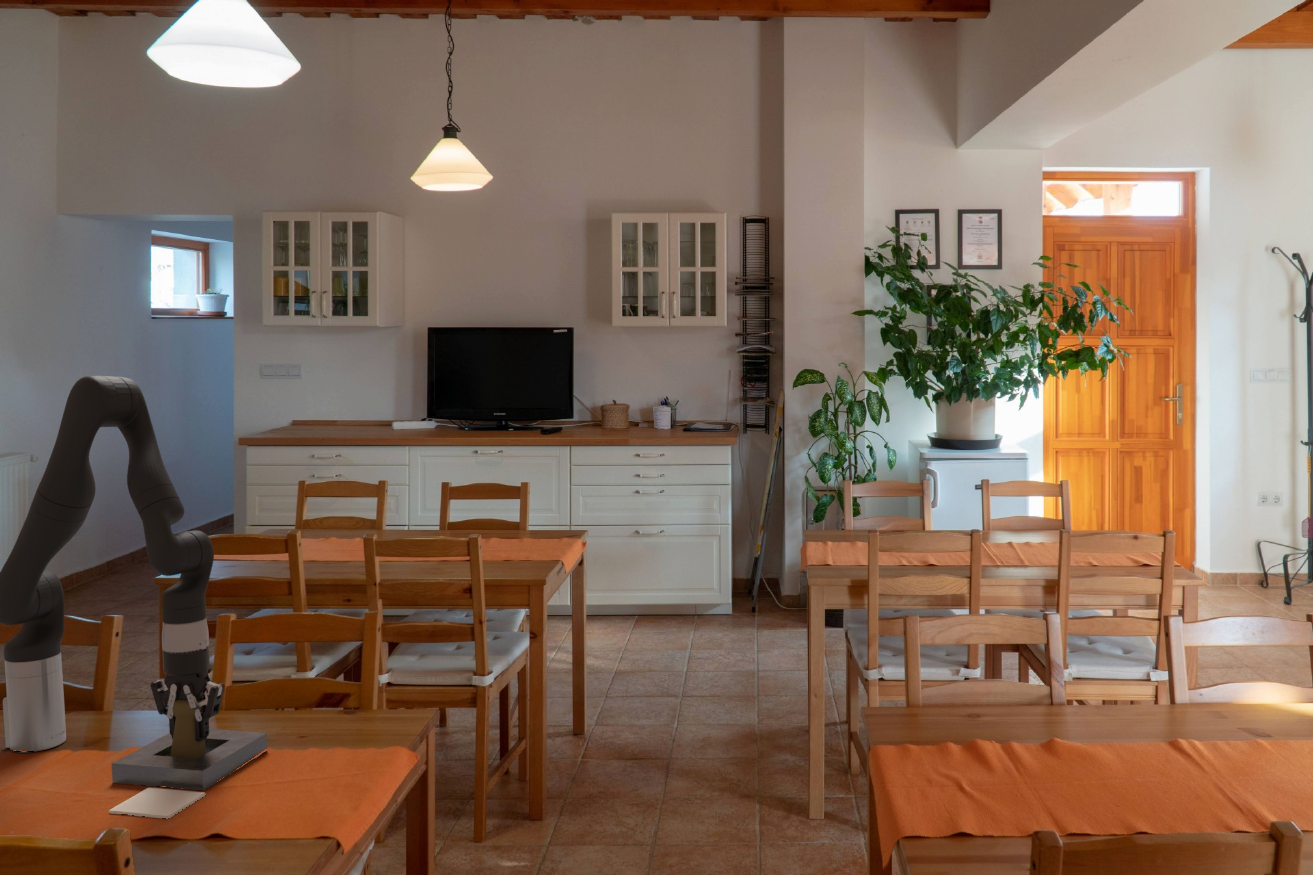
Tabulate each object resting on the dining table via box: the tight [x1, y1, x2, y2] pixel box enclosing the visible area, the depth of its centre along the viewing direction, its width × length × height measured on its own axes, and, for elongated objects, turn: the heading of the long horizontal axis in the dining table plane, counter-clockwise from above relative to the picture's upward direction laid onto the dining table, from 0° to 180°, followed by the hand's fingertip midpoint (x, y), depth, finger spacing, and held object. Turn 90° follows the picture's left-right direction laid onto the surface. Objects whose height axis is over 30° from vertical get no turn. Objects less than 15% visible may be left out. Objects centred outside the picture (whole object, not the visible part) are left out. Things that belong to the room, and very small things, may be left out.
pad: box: [108, 787, 206, 820], centre depth 168 cm, size 11×9×1 cm
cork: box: [170, 699, 206, 759], centre depth 183 cm, size 6×6×11 cm
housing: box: [111, 728, 268, 791], centre depth 184 cm, size 18×18×4 cm
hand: (189, 738), depth 184 cm, fingers closed on cork, 4 cm apart
